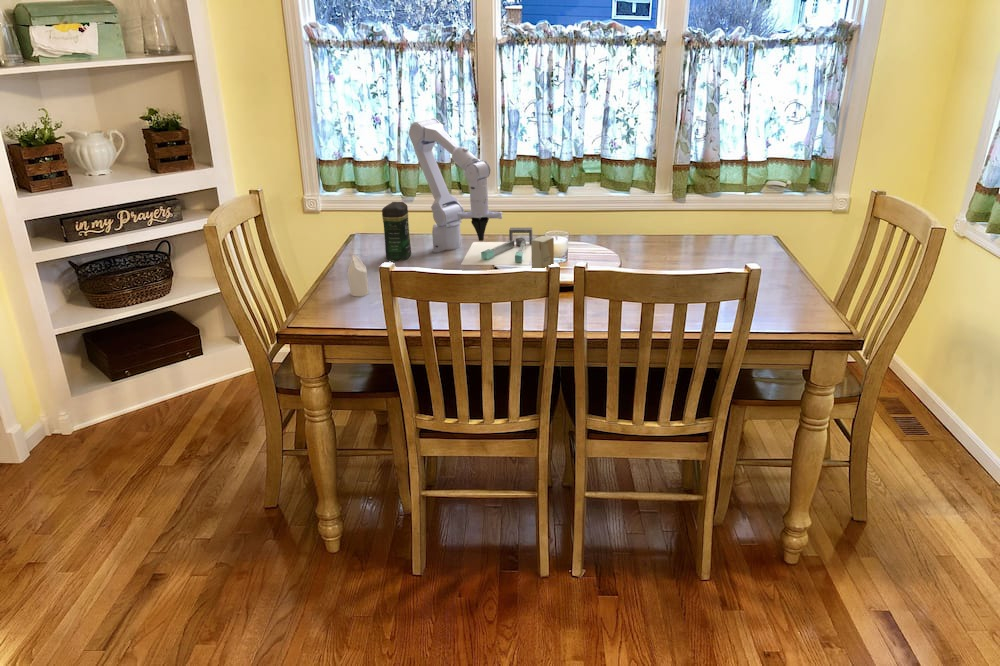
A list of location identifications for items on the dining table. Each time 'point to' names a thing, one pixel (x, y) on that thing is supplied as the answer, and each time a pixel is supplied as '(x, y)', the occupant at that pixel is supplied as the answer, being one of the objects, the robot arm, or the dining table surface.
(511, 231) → the grey u-shaped bracket
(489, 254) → the tong arm
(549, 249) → the skincare box
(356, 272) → the cream carton
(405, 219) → the coffee jar
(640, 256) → the dining table surface
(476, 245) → the board
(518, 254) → the tongs fixed
